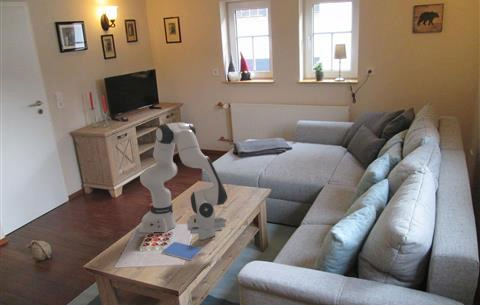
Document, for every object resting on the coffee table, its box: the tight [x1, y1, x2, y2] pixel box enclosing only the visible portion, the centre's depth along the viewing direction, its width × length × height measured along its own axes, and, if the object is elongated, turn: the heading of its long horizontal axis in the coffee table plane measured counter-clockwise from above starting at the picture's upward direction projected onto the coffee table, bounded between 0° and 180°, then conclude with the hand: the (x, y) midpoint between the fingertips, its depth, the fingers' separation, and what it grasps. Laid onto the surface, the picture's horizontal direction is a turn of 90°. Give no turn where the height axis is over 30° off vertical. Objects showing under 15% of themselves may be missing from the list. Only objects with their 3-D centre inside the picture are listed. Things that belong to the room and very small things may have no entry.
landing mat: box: [190, 228, 223, 234], centre depth 239 cm, size 18×14×1 cm
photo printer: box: [197, 228, 216, 241], centre depth 225 cm, size 10×4×12 cm, turn 123°
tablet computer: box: [161, 241, 204, 261], centre depth 213 cm, size 19×13×1 cm, turn 63°
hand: (206, 228), depth 215 cm, fingers closed
